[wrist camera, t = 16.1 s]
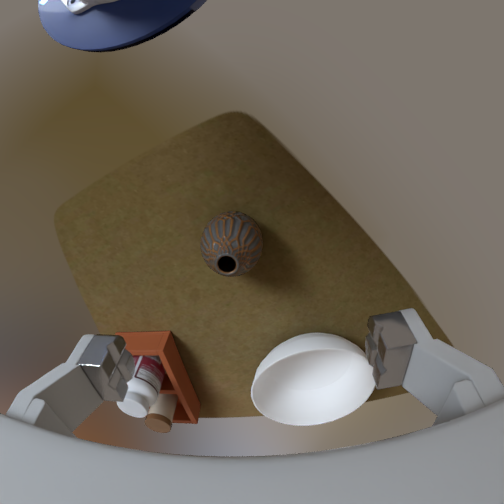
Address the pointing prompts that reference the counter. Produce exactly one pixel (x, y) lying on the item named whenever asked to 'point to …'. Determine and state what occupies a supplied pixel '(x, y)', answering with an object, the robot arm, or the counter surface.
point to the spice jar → (162, 413)
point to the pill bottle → (143, 386)
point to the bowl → (312, 380)
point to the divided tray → (167, 370)
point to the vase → (231, 243)
